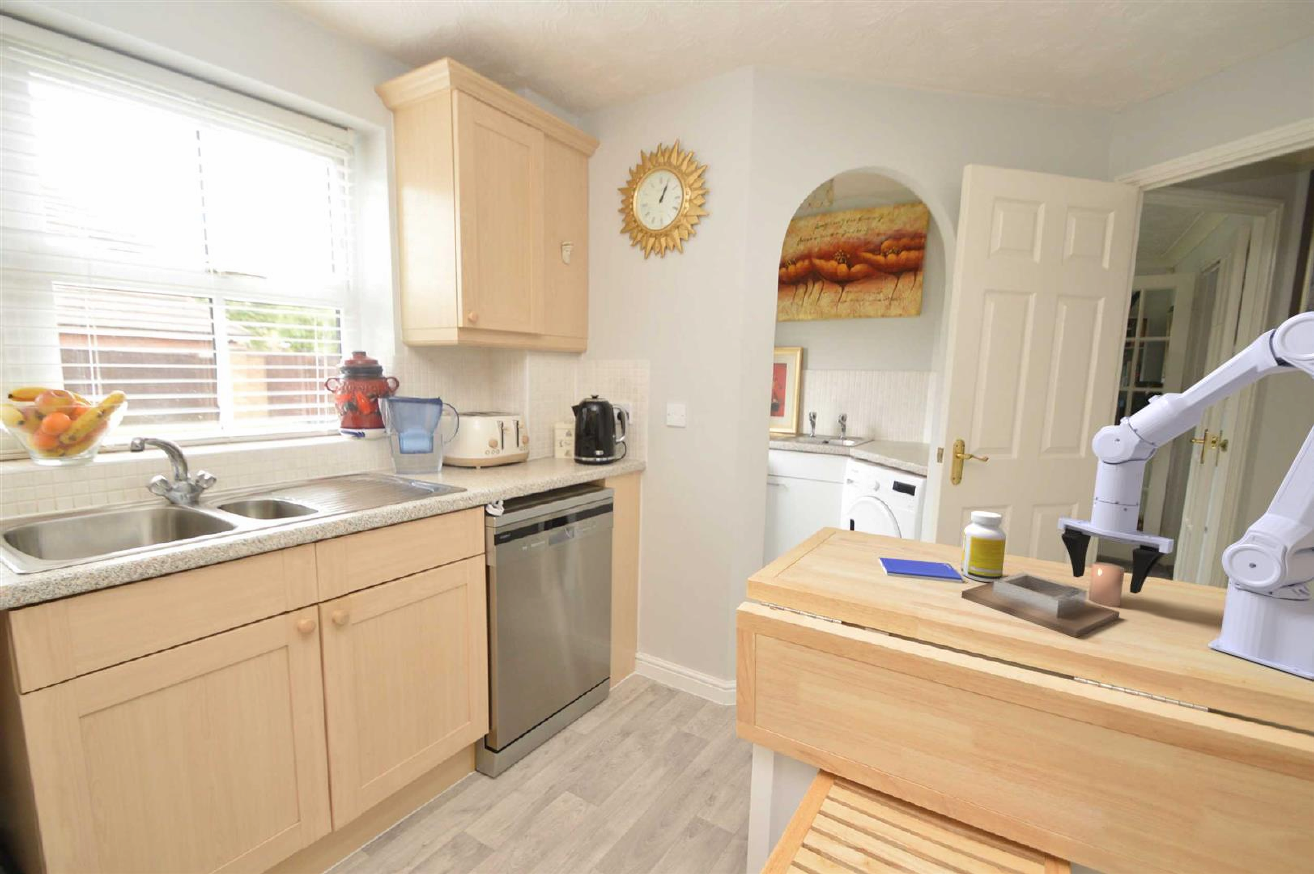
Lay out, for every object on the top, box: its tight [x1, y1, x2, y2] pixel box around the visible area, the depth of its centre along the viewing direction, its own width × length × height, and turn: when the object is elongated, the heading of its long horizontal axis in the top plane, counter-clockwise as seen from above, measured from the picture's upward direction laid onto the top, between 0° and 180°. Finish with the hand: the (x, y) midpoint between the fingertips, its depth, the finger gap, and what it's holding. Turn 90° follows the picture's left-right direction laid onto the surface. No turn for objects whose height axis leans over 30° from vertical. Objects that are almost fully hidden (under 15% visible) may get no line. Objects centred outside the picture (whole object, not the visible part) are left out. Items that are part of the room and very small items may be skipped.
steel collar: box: [993, 572, 1087, 618], centre depth 87 cm, size 9×9×2 cm
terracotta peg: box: [1088, 561, 1126, 608], centre depth 90 cm, size 4×4×6 cm
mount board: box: [961, 582, 1120, 639], centre depth 87 cm, size 16×14×1 cm
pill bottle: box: [960, 510, 1007, 583], centre depth 99 cm, size 6×6×12 cm
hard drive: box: [878, 557, 963, 584], centre depth 102 cm, size 2×8×12 cm
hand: (1105, 583), depth 90 cm, fingers open, 7 cm apart
